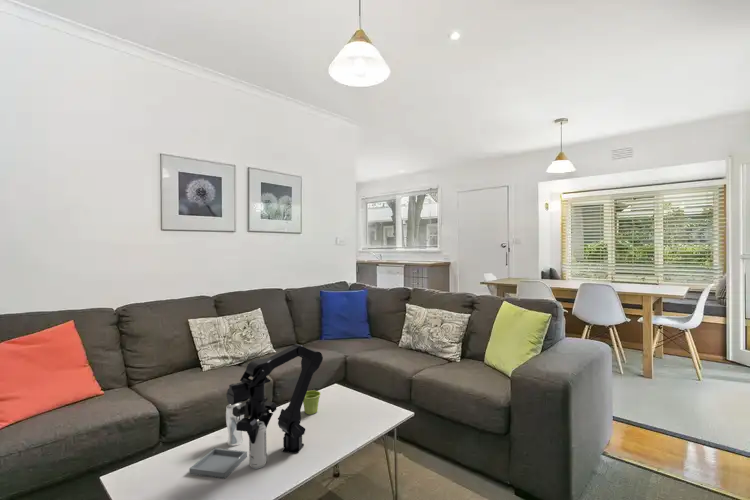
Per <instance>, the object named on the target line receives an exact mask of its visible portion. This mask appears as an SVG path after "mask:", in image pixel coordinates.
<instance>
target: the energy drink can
mask: <svg viewBox="0 0 750 500" xmlns="http://www.w3.org/2000/svg"><path fill="white" fill-rule="evenodd" d="M257 425H259V430H258V434H257V437H256V441H255V443H254V444H252V443H251V441H250V438H249V437H248V444H249V446H248V449H249V451H248V453H249V454H248V455H249V460H248V461H249V465H250V467H251V469H256V470H257V469H261V468H263V467H264V466H265V465H266V463H267V428H266V426H265V425H264V422H263V421H259V420H257Z"/></svg>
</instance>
